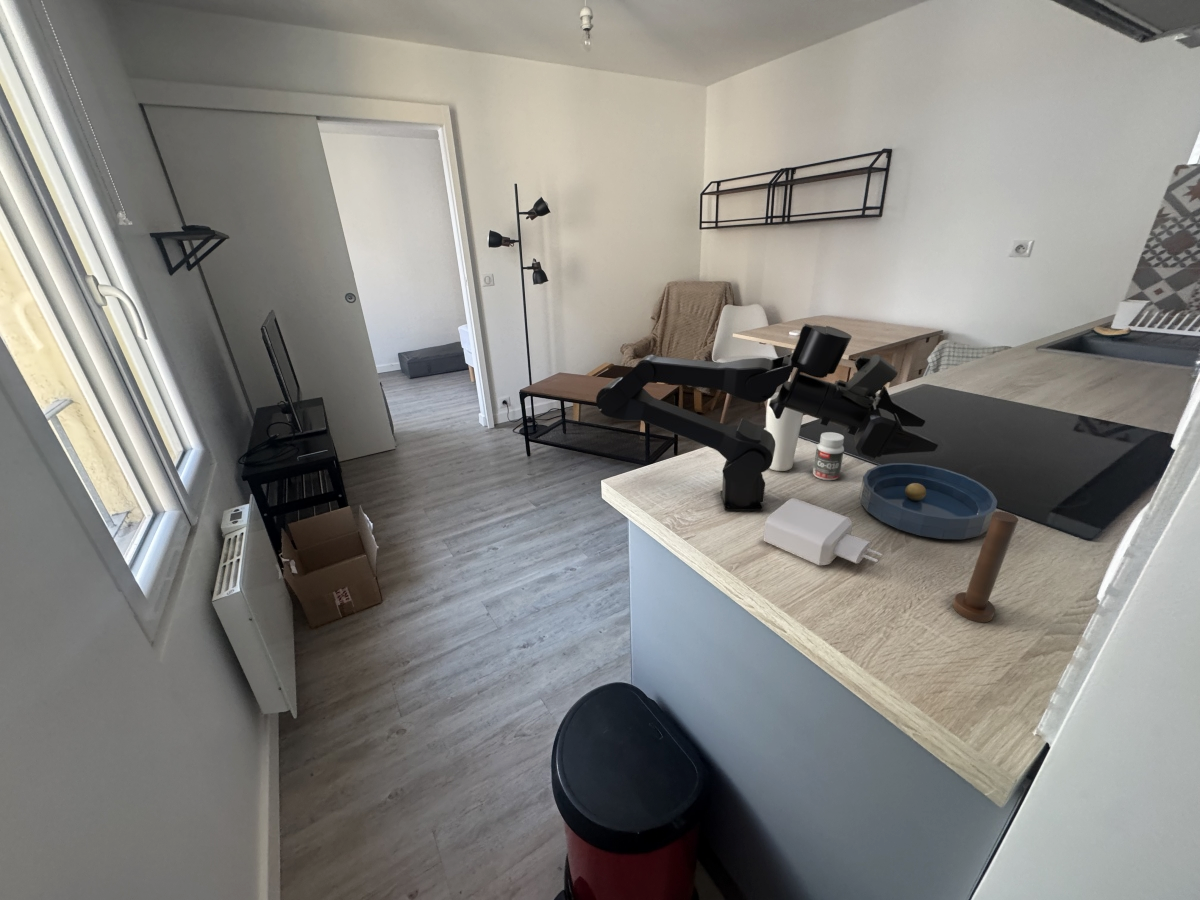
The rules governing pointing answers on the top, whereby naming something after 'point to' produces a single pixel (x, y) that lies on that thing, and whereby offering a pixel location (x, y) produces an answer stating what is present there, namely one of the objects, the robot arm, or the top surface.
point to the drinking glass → (783, 435)
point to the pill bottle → (829, 456)
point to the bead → (915, 491)
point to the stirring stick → (986, 569)
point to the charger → (815, 534)
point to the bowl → (928, 501)
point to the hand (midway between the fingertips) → (929, 435)
